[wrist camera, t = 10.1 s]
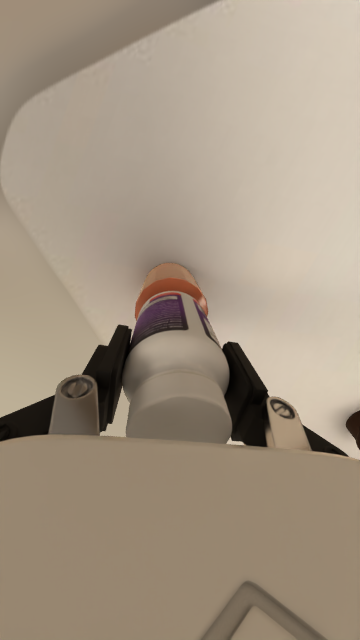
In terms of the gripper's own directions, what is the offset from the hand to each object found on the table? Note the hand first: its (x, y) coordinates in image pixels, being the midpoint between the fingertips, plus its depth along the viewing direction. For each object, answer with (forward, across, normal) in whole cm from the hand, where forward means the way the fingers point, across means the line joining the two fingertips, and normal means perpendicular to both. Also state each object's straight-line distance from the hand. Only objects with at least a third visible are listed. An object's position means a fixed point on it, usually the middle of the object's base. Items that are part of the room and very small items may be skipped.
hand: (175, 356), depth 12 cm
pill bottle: (+5, 0, 0) cm, 5 cm away
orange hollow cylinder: (+14, 0, 0) cm, 14 cm away
